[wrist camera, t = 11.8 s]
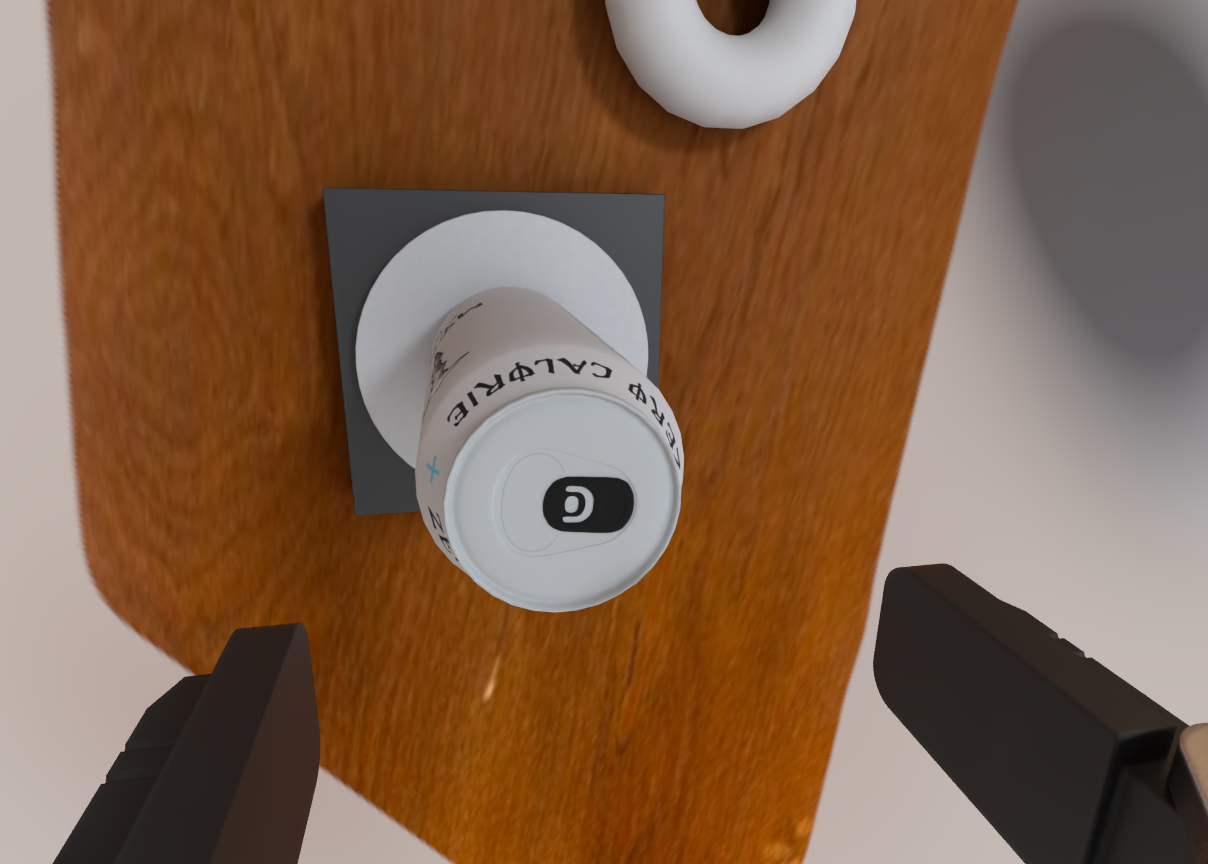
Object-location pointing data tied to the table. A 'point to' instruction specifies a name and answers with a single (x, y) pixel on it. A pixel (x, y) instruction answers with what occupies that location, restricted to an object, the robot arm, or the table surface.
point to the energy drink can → (544, 455)
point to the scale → (459, 270)
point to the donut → (729, 57)
